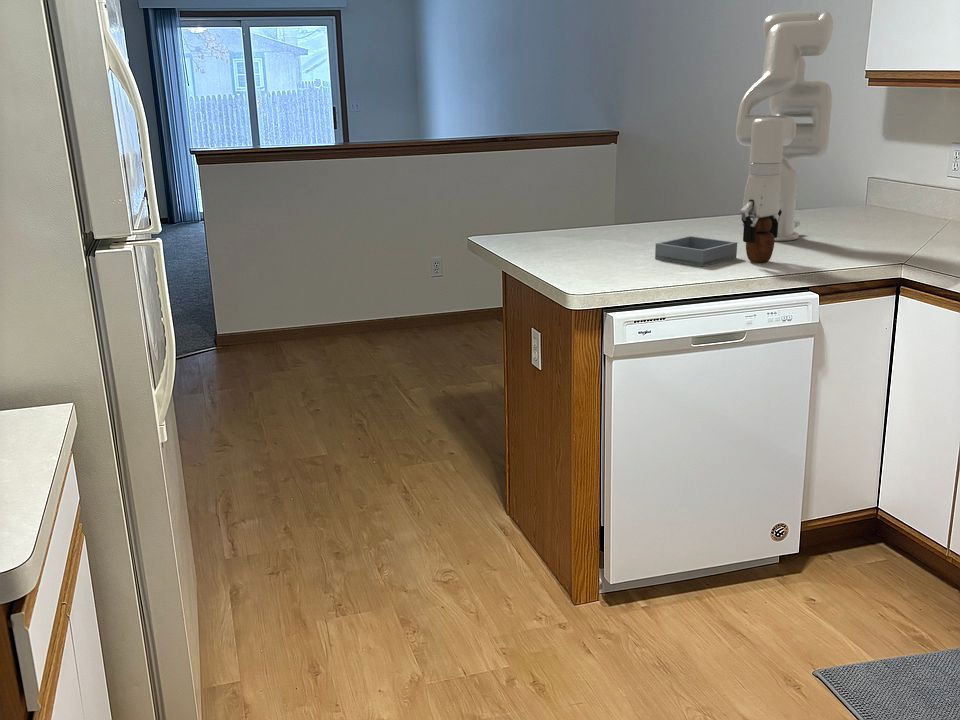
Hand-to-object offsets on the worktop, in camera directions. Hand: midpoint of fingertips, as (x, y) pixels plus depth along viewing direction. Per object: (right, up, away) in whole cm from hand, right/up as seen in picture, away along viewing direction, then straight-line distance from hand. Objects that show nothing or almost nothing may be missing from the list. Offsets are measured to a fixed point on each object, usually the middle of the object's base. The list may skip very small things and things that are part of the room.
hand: (760, 239), depth 229 cm
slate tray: (-14, -4, +7) cm, 17 cm away
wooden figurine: (0, -5, +2) cm, 6 cm away
